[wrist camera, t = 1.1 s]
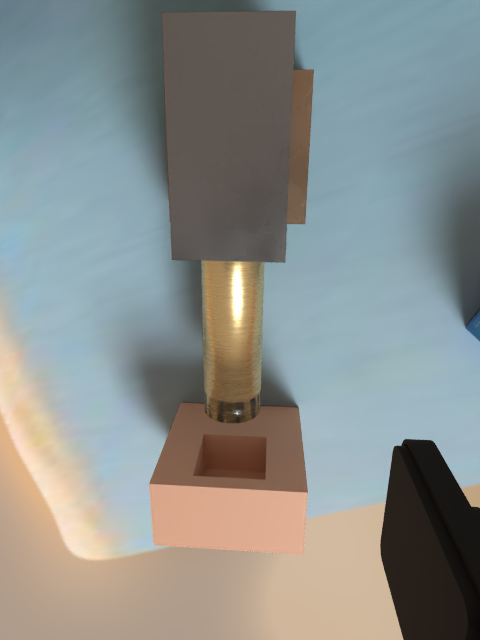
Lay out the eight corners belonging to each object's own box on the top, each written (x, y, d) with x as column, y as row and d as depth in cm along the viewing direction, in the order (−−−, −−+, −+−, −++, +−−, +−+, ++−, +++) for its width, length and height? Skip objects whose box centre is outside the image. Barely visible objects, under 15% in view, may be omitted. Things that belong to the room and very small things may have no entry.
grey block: (176, 60, 24) (131, 12, 16) (309, 59, 23) (327, 10, 16) (182, 232, 26) (146, 259, 19) (300, 234, 26) (311, 263, 19)
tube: (203, 78, 20) (191, 64, 17) (269, 78, 20) (269, 64, 17) (208, 393, 25) (200, 422, 23) (260, 395, 25) (259, 424, 22)
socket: (180, 402, 30) (149, 483, 23) (298, 407, 30) (307, 492, 22) (182, 452, 32) (153, 545, 24) (295, 457, 31) (303, 554, 23)
